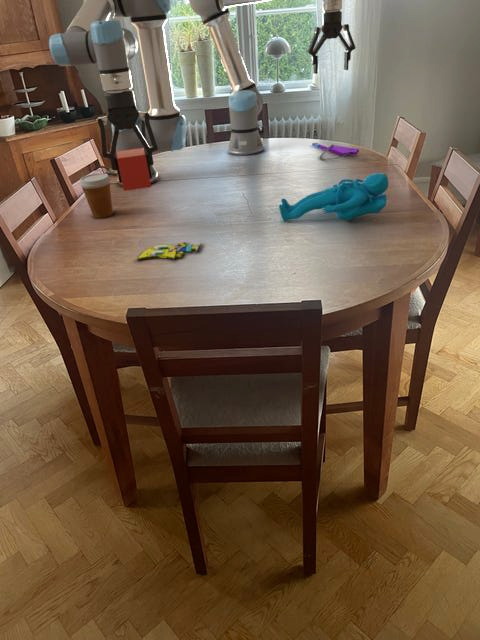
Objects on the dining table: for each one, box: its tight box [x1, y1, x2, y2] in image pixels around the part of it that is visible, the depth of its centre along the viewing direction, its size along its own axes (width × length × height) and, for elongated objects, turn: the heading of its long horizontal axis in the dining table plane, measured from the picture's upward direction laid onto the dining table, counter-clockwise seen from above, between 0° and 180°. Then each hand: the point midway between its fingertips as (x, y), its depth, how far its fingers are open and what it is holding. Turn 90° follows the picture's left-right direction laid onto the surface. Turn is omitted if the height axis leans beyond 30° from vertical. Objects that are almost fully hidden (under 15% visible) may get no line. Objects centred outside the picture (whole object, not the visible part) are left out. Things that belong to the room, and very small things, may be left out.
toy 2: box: [278, 172, 389, 222], centre depth 135 cm, size 17×11×30 cm
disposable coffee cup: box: [79, 172, 114, 219], centre depth 152 cm, size 10×10×12 cm
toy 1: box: [137, 241, 202, 262], centre depth 126 cm, size 10×1×15 cm
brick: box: [115, 148, 152, 192], centre depth 134 cm, size 8×8×9 cm
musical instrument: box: [311, 142, 360, 160], centre depth 196 cm, size 24×2×20 cm
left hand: (135, 179), depth 135 cm, fingers closed on brick, 8 cm apart
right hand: (330, 71), depth 200 cm, fingers open, 13 cm apart
